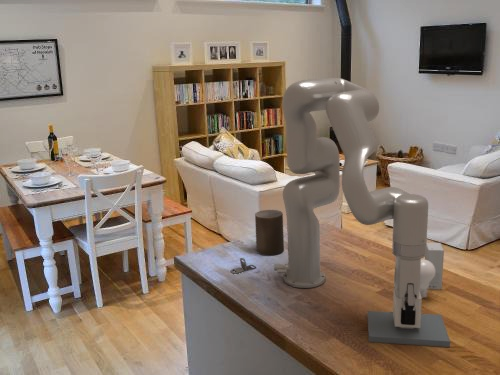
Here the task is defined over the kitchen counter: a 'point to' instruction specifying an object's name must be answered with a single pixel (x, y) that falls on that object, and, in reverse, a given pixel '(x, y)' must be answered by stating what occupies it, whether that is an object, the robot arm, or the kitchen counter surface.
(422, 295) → the lightbulb
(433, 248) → the skincare box
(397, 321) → the cream block
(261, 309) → the kitchen counter surface
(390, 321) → the post board
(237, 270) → the strap clip
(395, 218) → the robot arm
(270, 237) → the pillar candle
